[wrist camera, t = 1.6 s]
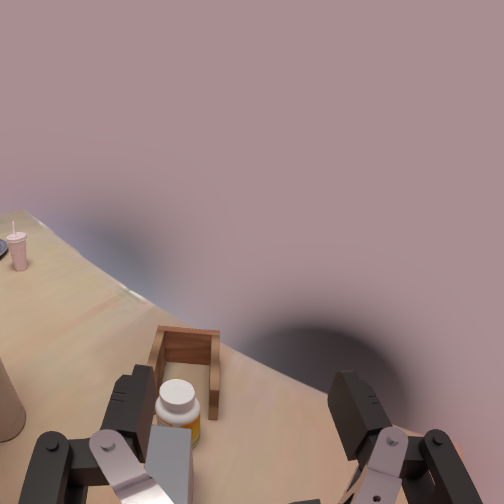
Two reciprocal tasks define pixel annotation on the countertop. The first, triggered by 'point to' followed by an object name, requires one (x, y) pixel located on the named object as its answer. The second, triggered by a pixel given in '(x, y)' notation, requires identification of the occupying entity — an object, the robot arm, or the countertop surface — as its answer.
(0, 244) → the ceramic plate
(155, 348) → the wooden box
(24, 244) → the smoothie
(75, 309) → the countertop surface
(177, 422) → the supplement bottle
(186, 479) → the grey rectangular box
